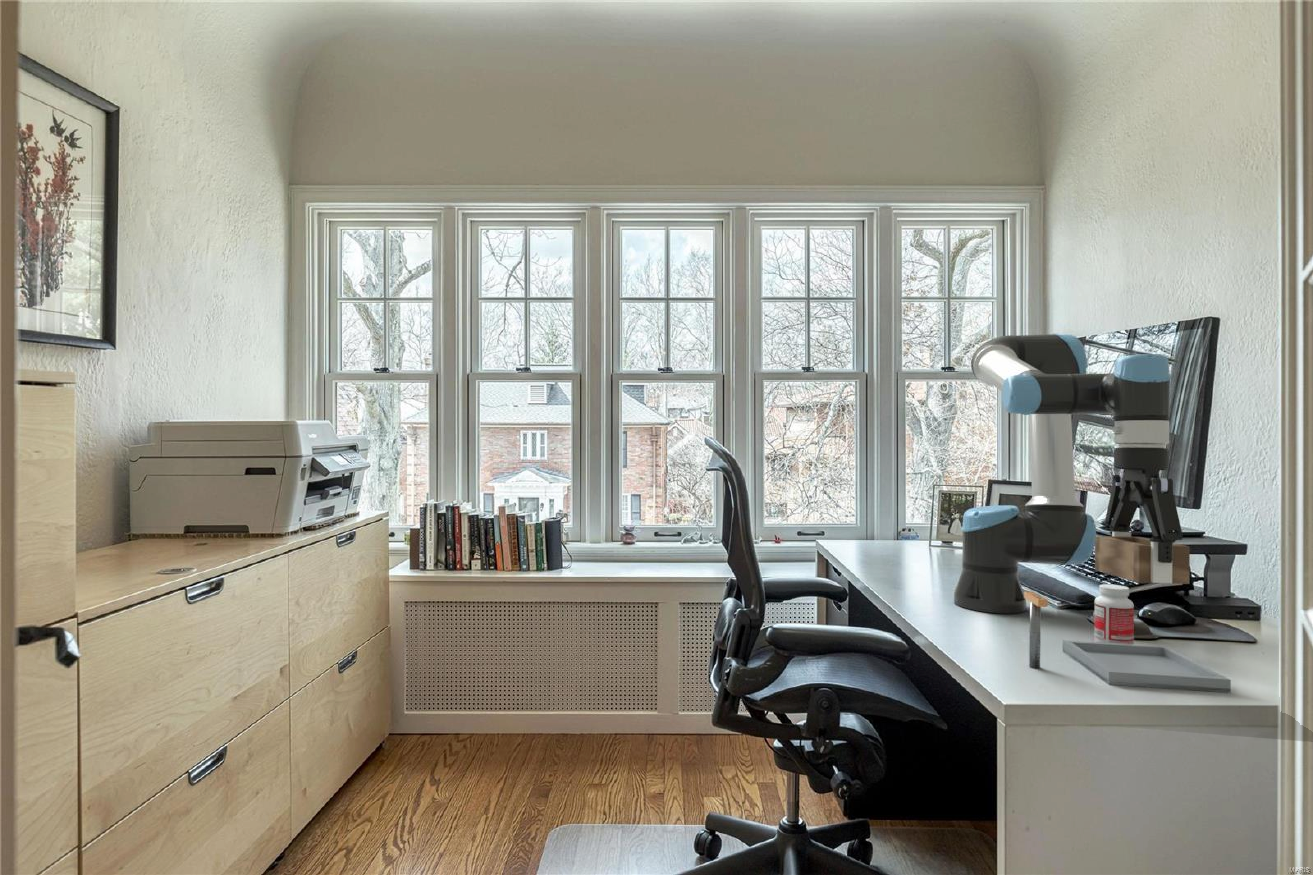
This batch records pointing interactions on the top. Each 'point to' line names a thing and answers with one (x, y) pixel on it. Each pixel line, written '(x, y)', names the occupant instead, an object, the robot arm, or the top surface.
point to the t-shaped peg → (1035, 626)
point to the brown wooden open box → (1137, 559)
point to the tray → (1145, 666)
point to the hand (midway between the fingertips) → (1140, 575)
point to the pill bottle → (1114, 615)
